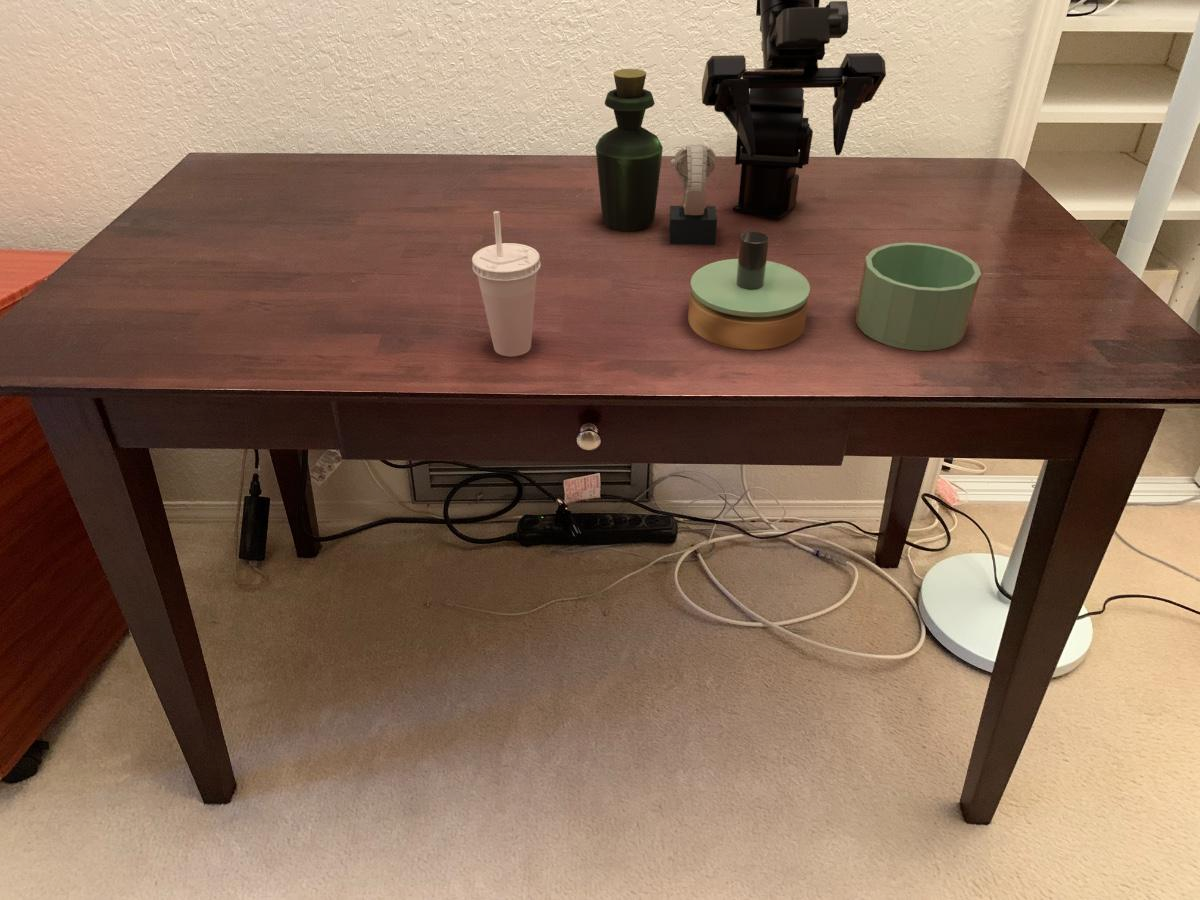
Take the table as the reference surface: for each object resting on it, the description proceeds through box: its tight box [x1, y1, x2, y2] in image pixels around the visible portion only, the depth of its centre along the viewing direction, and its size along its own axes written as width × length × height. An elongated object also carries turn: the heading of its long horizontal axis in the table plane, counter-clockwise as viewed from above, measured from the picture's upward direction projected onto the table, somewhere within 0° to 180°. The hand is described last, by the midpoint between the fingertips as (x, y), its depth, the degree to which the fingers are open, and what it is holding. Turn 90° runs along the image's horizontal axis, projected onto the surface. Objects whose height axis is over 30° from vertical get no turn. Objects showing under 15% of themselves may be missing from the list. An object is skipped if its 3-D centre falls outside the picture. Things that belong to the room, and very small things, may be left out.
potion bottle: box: [595, 68, 664, 232], centre depth 110 cm, size 8×8×18 cm
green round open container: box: [855, 241, 982, 352], centre depth 91 cm, size 11×11×7 cm
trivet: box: [687, 289, 809, 351], centre depth 93 cm, size 12×12×3 cm
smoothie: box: [471, 210, 542, 357], centre depth 86 cm, size 6×6×14 cm
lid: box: [689, 231, 811, 317], centre depth 91 cm, size 12×12×6 cm
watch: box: [668, 143, 718, 246], centre depth 108 cm, size 6×8×11 cm
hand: (795, 154), depth 96 cm, fingers open, 9 cm apart
